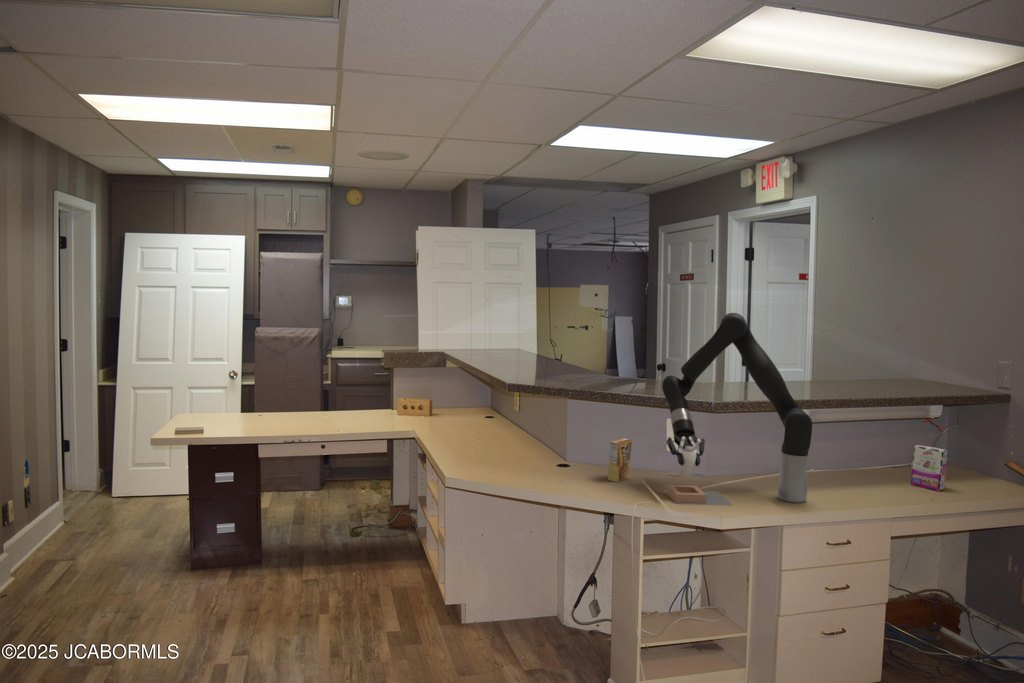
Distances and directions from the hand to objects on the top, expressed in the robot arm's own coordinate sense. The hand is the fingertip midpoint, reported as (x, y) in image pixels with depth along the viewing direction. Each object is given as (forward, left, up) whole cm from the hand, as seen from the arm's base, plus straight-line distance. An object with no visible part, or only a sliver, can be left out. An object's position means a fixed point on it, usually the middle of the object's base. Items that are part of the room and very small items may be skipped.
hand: (690, 464), depth 262 cm
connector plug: (0, -2, -4) cm, 5 cm away
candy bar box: (-109, -29, -14) cm, 113 cm away
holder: (-5, -3, -14) cm, 15 cm away
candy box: (+18, -28, -14) cm, 36 cm away
